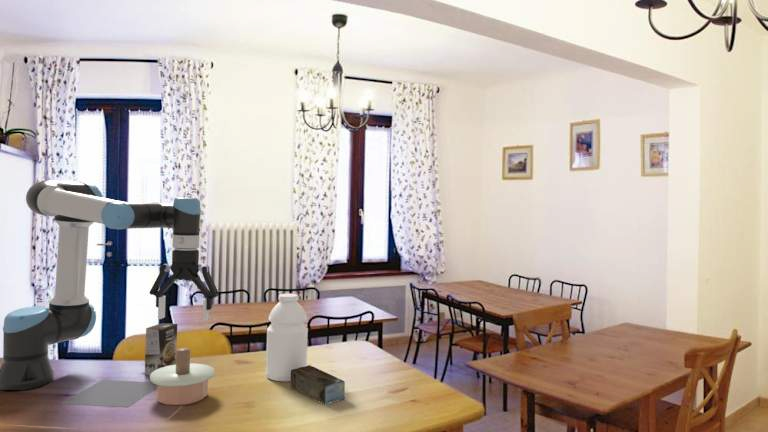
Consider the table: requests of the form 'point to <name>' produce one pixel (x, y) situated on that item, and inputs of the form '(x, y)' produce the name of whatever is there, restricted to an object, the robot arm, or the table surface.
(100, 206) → the robot arm
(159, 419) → the table surface
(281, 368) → the bottle
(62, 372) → the table surface
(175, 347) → the coffee box
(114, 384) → the mat
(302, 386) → the beverage carton
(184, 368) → the lid
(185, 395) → the bowl
